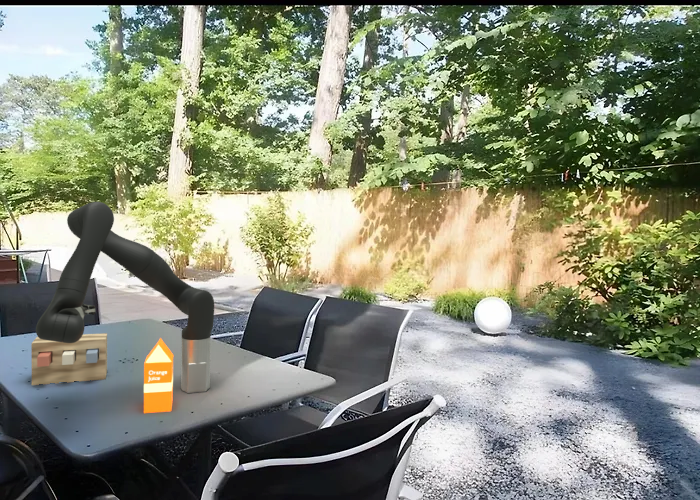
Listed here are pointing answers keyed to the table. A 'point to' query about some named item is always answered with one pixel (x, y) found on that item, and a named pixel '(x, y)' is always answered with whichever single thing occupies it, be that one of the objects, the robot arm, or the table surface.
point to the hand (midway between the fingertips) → (75, 306)
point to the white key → (68, 357)
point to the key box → (72, 371)
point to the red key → (44, 359)
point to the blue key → (92, 355)
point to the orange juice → (158, 379)
